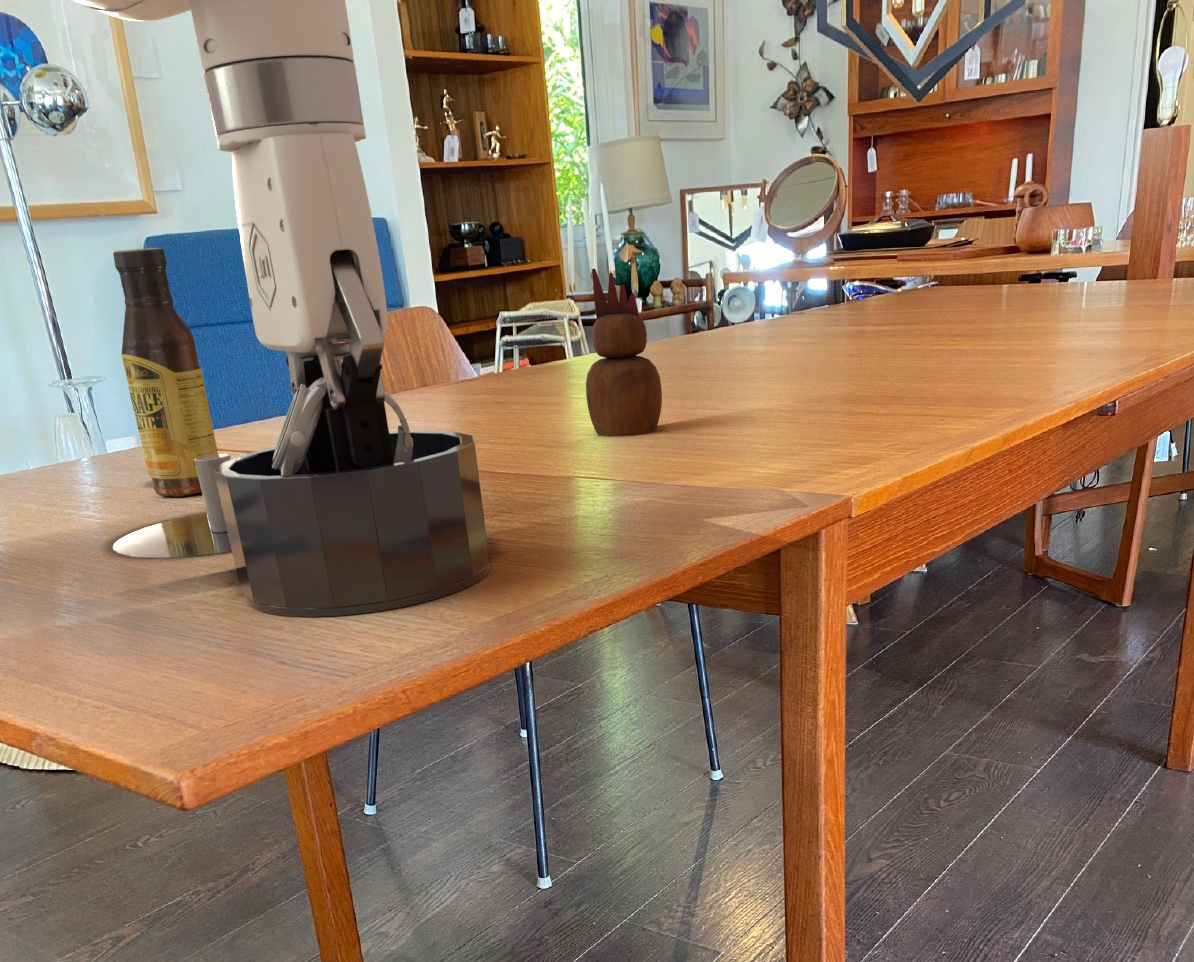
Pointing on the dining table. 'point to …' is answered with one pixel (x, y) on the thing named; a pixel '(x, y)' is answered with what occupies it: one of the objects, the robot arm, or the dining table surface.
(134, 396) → the sauce bottle
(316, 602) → the dark grey round bin
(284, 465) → the watch
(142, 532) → the lid
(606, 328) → the wooden figurine
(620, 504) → the dining table surface
